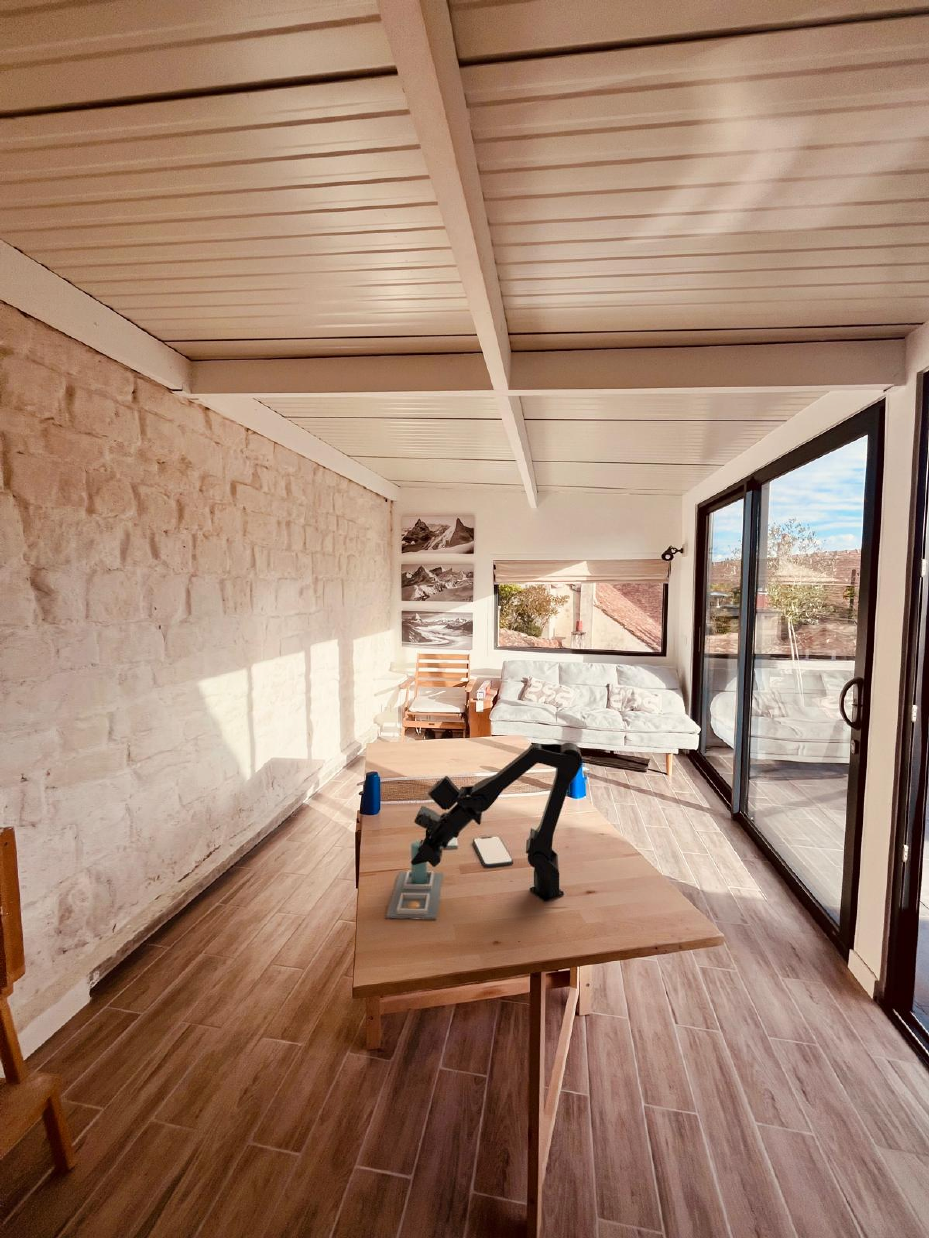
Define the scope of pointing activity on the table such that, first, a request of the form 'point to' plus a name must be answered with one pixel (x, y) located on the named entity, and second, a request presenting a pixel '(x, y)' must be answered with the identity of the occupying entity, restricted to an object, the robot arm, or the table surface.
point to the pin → (418, 867)
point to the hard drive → (451, 844)
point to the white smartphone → (492, 852)
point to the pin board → (415, 897)
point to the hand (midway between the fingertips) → (413, 859)
